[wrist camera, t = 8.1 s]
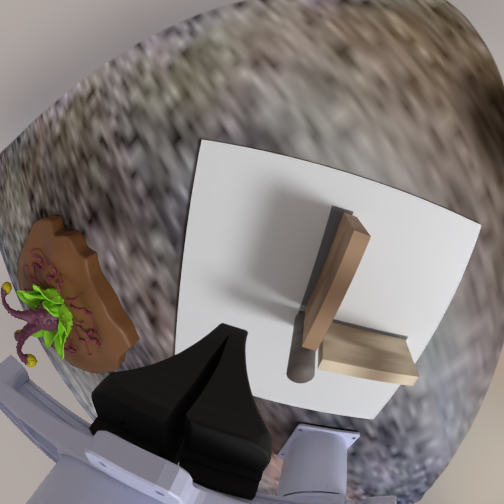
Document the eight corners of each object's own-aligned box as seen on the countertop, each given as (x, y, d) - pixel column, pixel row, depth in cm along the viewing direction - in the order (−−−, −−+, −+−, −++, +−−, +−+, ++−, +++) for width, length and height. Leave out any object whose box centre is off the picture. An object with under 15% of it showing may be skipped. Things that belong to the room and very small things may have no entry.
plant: (90, 375, 34) (49, 420, 24) (19, 273, 31) (-32, 303, 21) (165, 339, 27) (107, 414, 17) (63, 190, 24) (-22, 216, 14)
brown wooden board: (317, 311, 21) (316, 351, 17) (305, 307, 21) (301, 346, 17) (356, 216, 18) (370, 236, 14) (343, 212, 18) (354, 230, 14)
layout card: (372, 417, 25) (373, 419, 25) (175, 367, 28) (174, 369, 27) (479, 224, 16) (481, 225, 16) (203, 139, 19) (201, 139, 19)
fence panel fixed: (292, 326, 22) (282, 379, 17) (298, 308, 22) (291, 360, 16) (397, 350, 21) (413, 402, 15) (406, 335, 21) (426, 385, 15)
